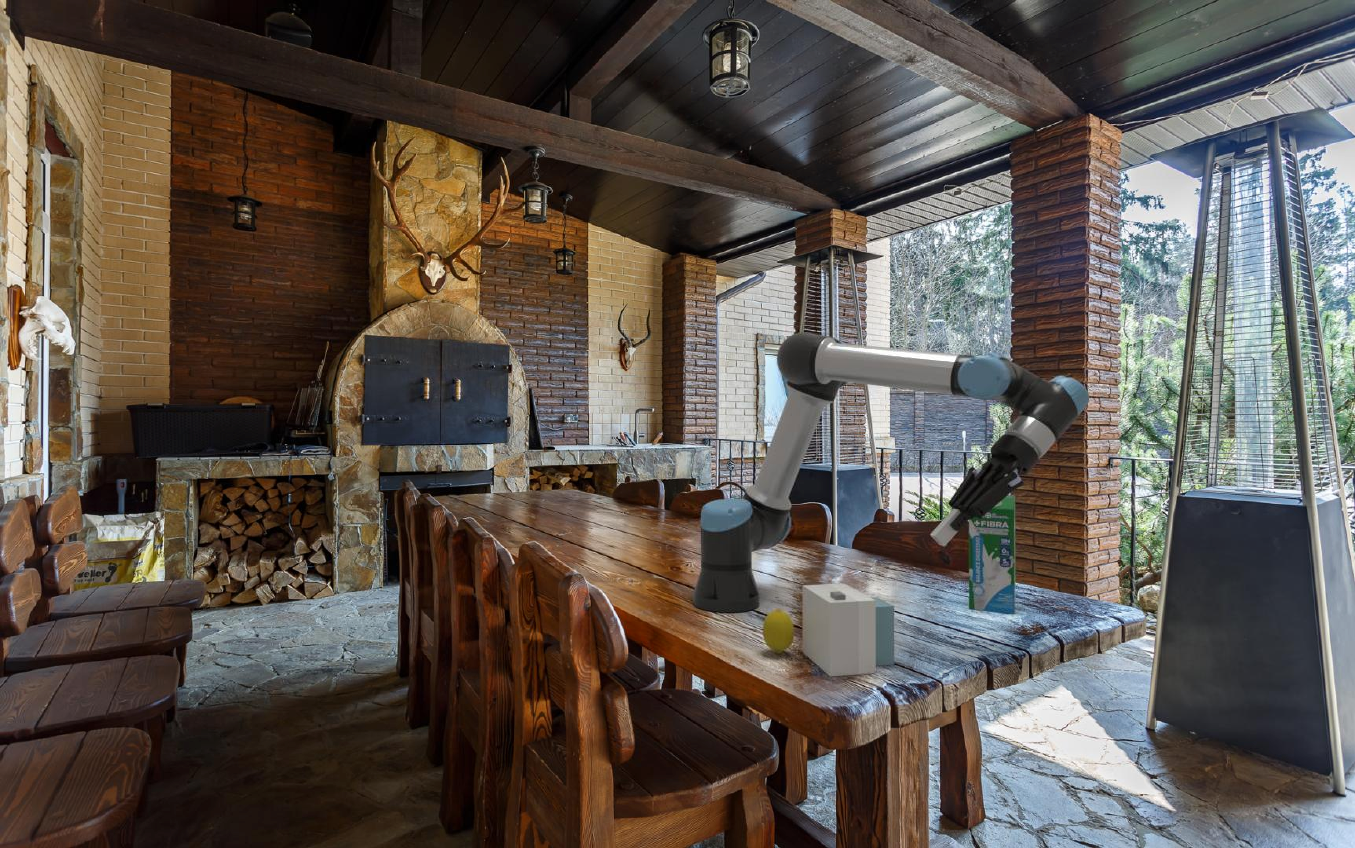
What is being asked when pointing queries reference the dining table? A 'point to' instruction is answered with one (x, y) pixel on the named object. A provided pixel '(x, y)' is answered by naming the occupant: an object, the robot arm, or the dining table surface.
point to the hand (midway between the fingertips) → (937, 540)
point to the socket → (839, 629)
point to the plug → (884, 632)
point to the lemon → (778, 631)
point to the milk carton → (993, 559)
